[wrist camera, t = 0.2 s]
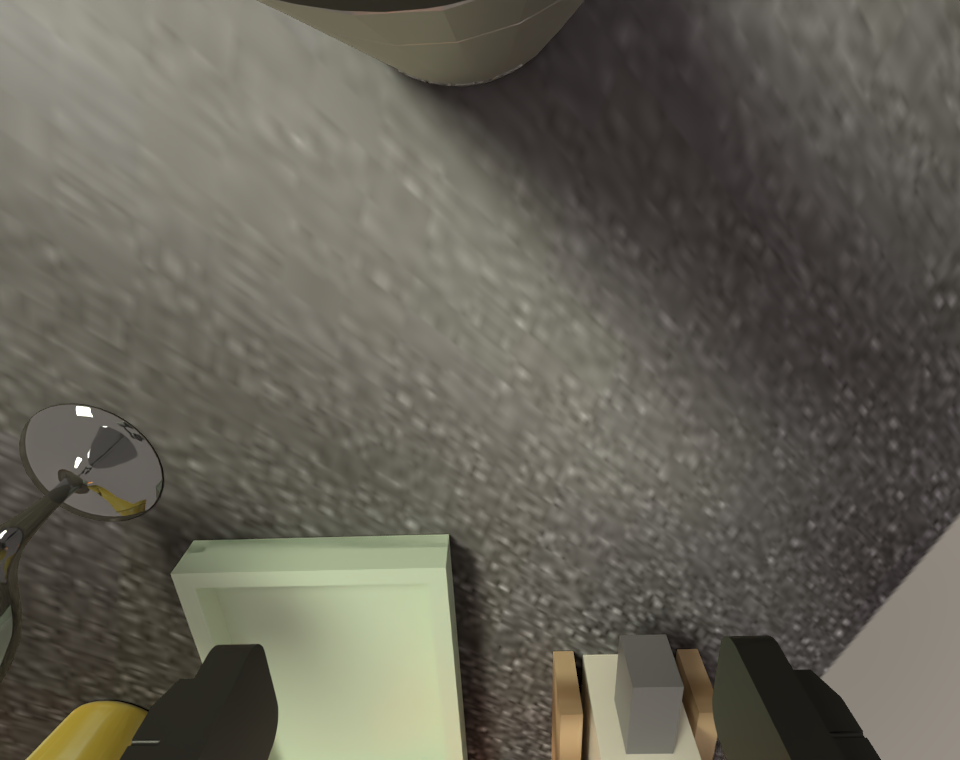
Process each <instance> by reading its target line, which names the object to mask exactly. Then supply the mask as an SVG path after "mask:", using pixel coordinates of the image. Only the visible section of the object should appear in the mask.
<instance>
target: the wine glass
mask: <svg viewBox="0 0 960 760" xmlns="http://www.w3.org/2000/svg"><path fill="white" fill-rule="evenodd" d="M19 451H20V457H21V461H22V464H23V466H24V468H25V471H26V473H27V474H28V476H29V477H30V479H31V480H32V482H33V483H34V484H35V486H36V487H37V488H38V489H39V490H40V491H41V492H42V493H43V494H44V495H45V496H43V497H42V498H41V499H40V500H38V501H37V502H35V503H34V504H33V505H31V506H30V507H28V508H27V509H25V510H24V511H22V512H21V513H19V514H18V515H16V516H15V517H13V518H11V519H10V520H8V521H7V522H5V523H3V524H1V525H0V684H1V683H2V681H3V679H4V677H5V675H6V673H7V672H8V670H9V668H10V666H11V664H12V662H13V659H14V657H15V654H16V652H17V649H18V646H19V643H20V638H21V629H22V609H21V601H20V592H19V583H18V566H19V561H20V558H21V554H22V552H23V550H24V548H25V546H26V545H27V543H28V542H29V540H30V539H31V538H32V537H33V535H34V534H35V533H36V531H37V530H38V529H39V528H40V527H41V525H42V524H43V523H44V522H45V521H46V520H47V518H48V517H49V516H50V515H51V514H52V513H53V512H54V511H55V510H56V509H57V508H58V507H59V506H60V507H62V508H64V509H66V510H68V511H70V512H71V513H74V514H76V515H79V516H82V517H85V518H89V519H93V520H99V521H122V520H128V519H131V518H134V517H137V516H139V515H141V514H143V513H144V512H146V511H148V510H149V509H150V508H151V507H152V506H153V505H154V504H155V502H156V501H157V499H158V498H159V496H160V493H161V490H162V485H163V473H162V467H161V464H160V461H159V458H158V456H157V455H156V453H155V451H154V449H153V447H152V446H151V445H150V443H149V442H148V441H147V440H146V438H145V437H144V436H143V435H142V434H141V433H140V432H139V431H138V430H137V429H136V428H134V427H133V426H132V425H130V424H129V423H128V422H126V421H125V420H123V419H121V418H120V417H118V416H116V415H114V414H112V413H110V412H107V411H105V410H103V409H100V408H96V407H92V406H89V405H82V404H59V405H55V406H50V407H48V408H45V409H43V410H41V411H39V412H38V413H36V414H35V415H34V416H32V417H31V418H30V419H29V421H28V422H27V423H26V424H25V426H24V428H23V431H22V433H21V436H20V442H19Z"/></svg>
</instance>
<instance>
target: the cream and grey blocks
mask: <svg viewBox="0 0 960 760" xmlns="http://www.w3.org/2000/svg"><path fill="white" fill-rule="evenodd" d="M683 690H684V685H683V683H682V680H681V677H680V674H679V671H678V668H677V665H676V662H675V659H674V656H673V653H672V650H671V647H670V644H669V642H668V639H667V636H666V634H661V635H620V637H619V649H618V654H613V655H583V666H582V687H581V704H582V711H583V726H582V746H581V760H701V757H700V754H699V751H698V748H697V745H696V742H695V739H694V736H693V733H692V730H691V727H690V724H689V721H688V718H687V715H686V712H685V709H684V706H683V703H682V696H683Z"/></svg>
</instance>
